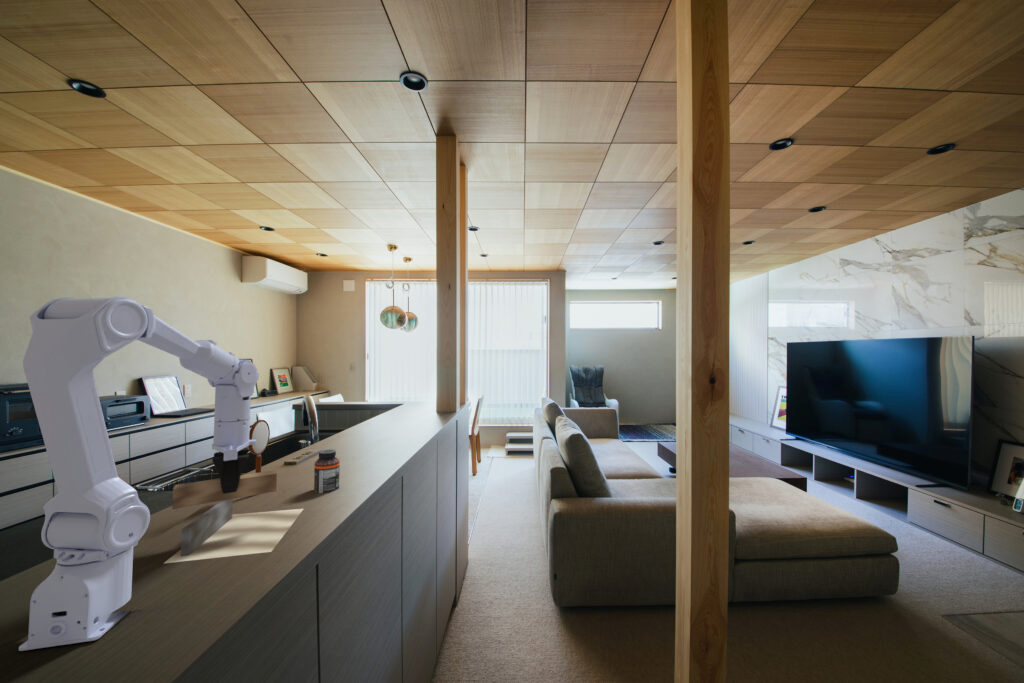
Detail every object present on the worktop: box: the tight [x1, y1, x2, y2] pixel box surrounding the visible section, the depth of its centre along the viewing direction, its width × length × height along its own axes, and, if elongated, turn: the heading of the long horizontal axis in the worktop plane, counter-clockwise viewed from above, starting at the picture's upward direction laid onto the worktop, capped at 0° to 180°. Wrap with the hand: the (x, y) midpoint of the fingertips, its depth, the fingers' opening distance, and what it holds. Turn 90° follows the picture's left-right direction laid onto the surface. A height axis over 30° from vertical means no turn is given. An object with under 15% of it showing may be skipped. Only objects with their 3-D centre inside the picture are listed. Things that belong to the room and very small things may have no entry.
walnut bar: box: [172, 470, 278, 510], centre depth 75 cm, size 16×3×4 cm, turn 125°
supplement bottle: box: [313, 449, 340, 494], centre depth 100 cm, size 6×6×11 cm
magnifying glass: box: [247, 419, 271, 496], centre depth 97 cm, size 9×2×20 cm, turn 5°
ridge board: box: [163, 499, 304, 565], centre depth 75 cm, size 20×16×6 cm
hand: (230, 489), depth 75 cm, fingers closed on walnut bar, 3 cm apart
